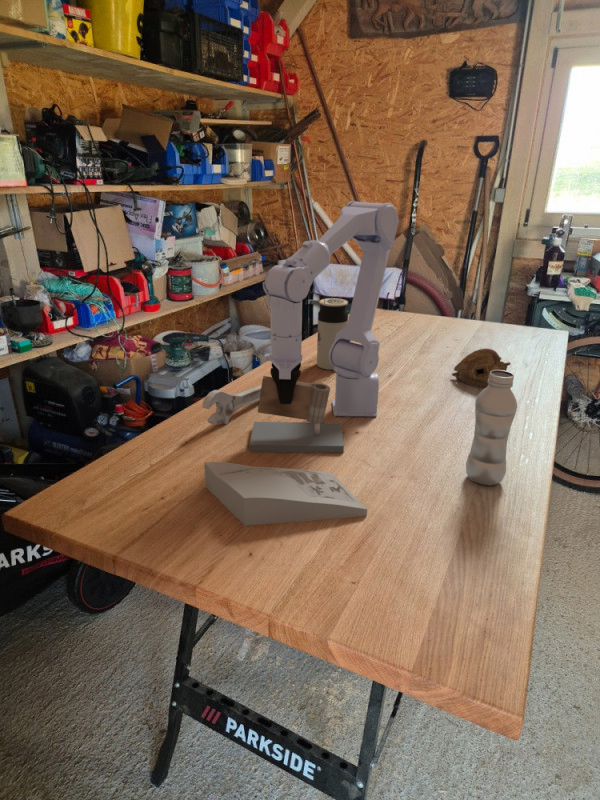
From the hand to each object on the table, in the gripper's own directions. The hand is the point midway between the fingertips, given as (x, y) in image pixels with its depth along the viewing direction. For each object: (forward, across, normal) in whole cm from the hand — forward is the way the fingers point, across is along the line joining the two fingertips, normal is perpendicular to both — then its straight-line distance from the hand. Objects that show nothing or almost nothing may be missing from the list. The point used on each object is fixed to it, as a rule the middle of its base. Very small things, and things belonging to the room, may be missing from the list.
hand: (285, 400), depth 102 cm
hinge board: (+9, 0, +2) cm, 9 cm away
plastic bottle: (+9, +14, +35) cm, 39 cm away
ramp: (+9, +21, 0) cm, 23 cm away
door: (+3, 0, +1) cm, 3 cm away
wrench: (+9, -15, -8) cm, 20 cm away
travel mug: (+9, -44, +11) cm, 46 cm away
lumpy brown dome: (+9, -40, +52) cm, 66 cm away
